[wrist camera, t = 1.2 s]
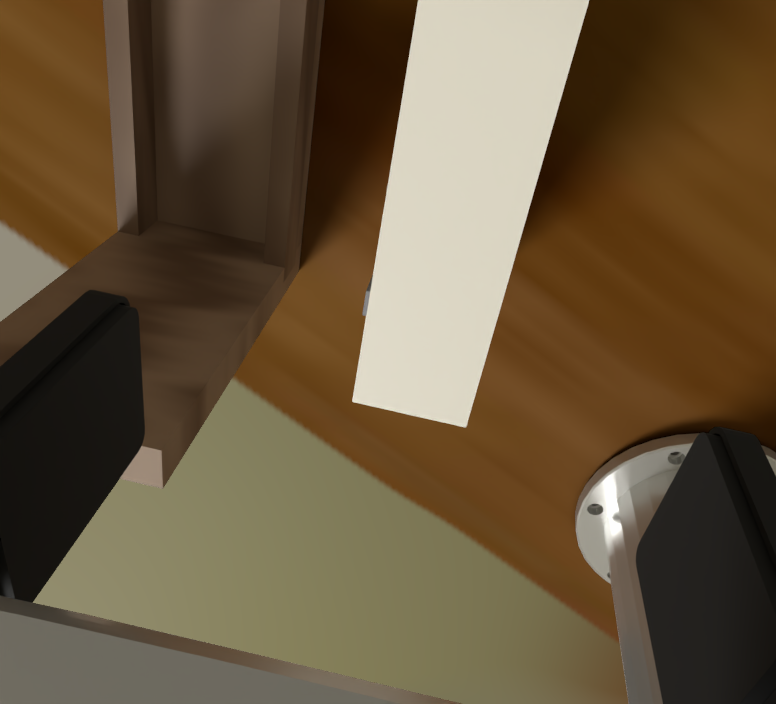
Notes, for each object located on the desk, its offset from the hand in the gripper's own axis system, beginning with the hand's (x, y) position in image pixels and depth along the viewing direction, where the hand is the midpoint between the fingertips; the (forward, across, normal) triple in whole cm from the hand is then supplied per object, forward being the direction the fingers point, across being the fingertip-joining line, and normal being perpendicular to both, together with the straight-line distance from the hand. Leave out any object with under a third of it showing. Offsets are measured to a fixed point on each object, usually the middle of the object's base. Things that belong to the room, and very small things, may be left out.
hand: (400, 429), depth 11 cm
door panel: (+22, 0, 0) cm, 22 cm away
